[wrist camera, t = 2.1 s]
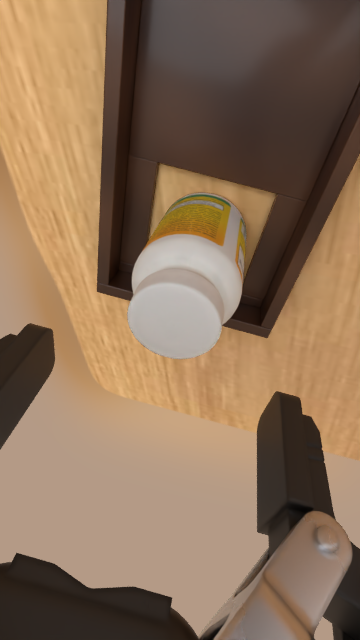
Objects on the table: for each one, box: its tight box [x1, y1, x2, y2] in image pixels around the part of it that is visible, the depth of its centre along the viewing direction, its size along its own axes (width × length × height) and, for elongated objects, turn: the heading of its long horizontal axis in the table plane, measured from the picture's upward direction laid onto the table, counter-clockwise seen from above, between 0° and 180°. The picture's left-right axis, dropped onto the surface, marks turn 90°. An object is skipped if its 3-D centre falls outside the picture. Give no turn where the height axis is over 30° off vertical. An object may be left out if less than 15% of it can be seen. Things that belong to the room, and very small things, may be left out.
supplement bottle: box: [127, 193, 246, 359], centre depth 17 cm, size 5×5×10 cm
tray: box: [97, 0, 360, 338], centre depth 18 cm, size 18×12×2 cm, turn 169°
